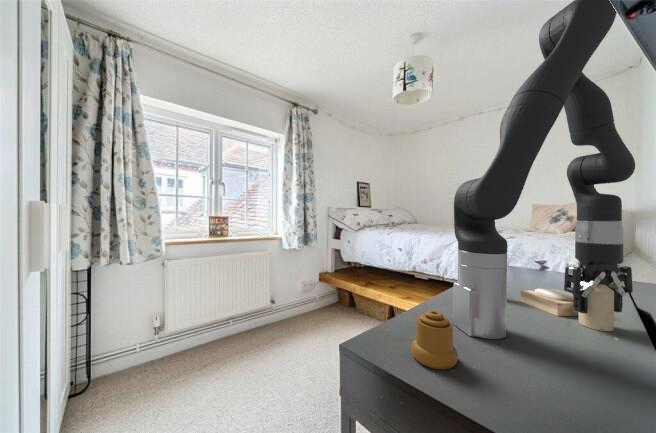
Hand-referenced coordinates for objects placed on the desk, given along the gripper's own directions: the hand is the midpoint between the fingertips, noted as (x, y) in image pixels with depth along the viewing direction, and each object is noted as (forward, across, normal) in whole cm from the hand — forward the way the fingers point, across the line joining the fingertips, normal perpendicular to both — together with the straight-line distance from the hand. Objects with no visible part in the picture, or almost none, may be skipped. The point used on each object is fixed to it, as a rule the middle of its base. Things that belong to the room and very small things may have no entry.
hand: (597, 311), depth 58 cm
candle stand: (+3, +2, +12) cm, 12 cm away
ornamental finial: (+3, -44, -10) cm, 46 cm away
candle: (+4, 0, 0) cm, 4 cm away
